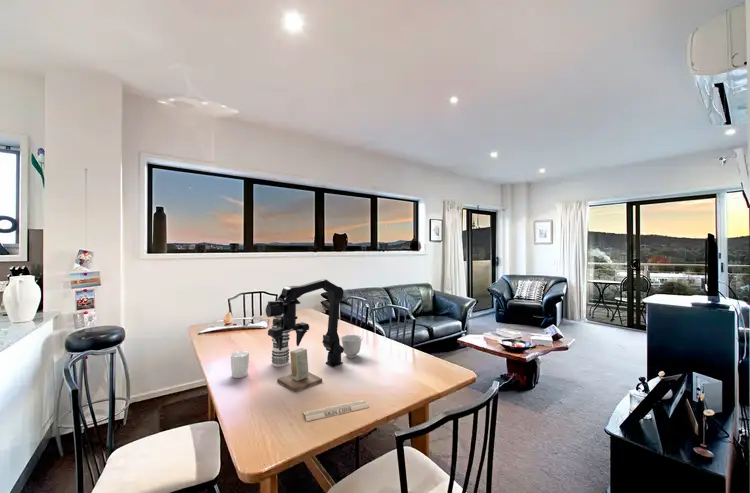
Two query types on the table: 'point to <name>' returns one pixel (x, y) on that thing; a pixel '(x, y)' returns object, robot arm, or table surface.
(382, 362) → the table surface
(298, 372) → the skincare box
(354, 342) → the teacup
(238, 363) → the white cup
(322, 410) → the newspaper
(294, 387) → the walnut block
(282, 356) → the decorative candle
